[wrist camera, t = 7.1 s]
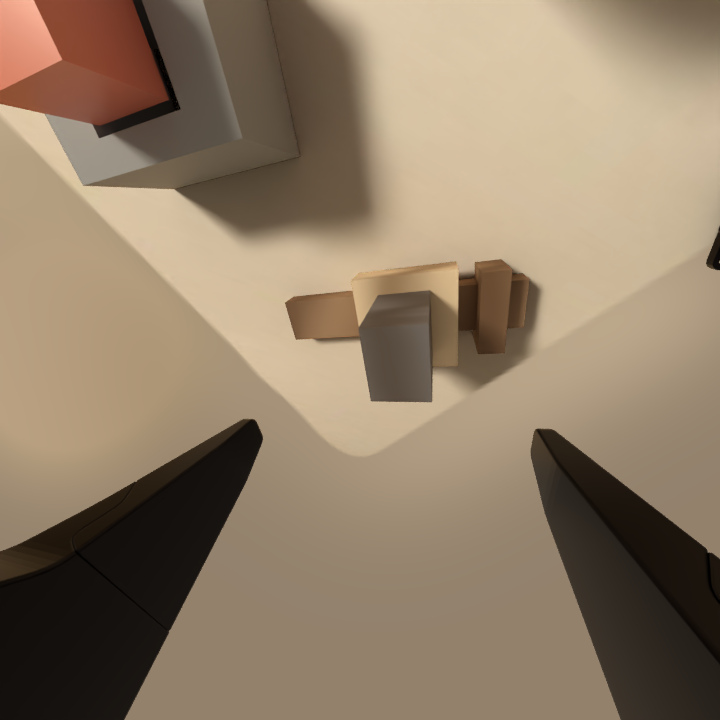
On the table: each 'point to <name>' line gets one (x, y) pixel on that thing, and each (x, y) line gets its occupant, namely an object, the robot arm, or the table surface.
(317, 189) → the table surface
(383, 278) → the block stack
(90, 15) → the plunger
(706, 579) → the robot arm
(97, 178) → the grey slotted box
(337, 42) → the table surface
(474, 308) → the rail
